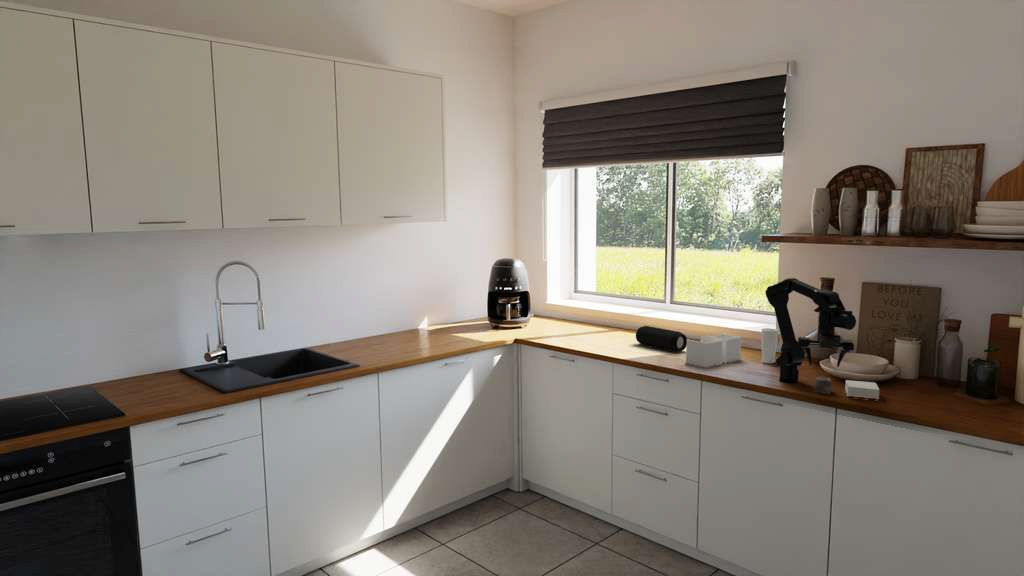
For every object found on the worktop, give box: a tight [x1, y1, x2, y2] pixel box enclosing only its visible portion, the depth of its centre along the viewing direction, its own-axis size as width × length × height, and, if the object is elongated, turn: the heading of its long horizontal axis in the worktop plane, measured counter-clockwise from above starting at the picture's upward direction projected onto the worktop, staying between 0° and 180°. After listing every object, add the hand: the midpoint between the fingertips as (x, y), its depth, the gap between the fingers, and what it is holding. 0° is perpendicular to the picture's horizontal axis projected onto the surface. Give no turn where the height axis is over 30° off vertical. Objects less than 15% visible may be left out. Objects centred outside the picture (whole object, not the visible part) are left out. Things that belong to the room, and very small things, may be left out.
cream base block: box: [844, 379, 880, 400], centre depth 238 cm, size 10×10×4 cm
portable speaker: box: [635, 325, 688, 353], centre depth 319 cm, size 26×10×10 cm, turn 38°
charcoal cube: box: [814, 376, 832, 394], centre depth 243 cm, size 5×5×5 cm
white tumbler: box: [760, 327, 779, 365], centre depth 289 cm, size 7×7×15 cm
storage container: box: [685, 332, 742, 368], centre depth 291 cm, size 25×11×11 cm, turn 126°
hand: (824, 365), depth 242 cm, fingers open, 9 cm apart
